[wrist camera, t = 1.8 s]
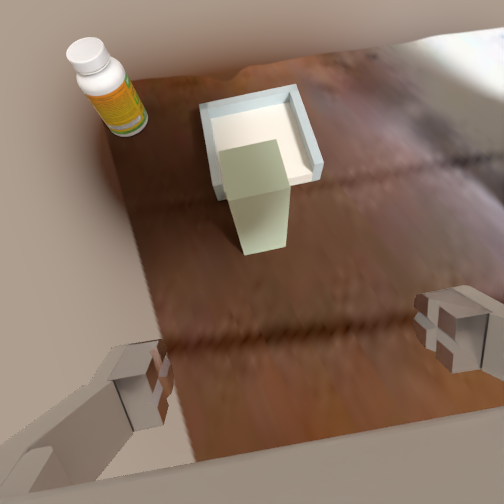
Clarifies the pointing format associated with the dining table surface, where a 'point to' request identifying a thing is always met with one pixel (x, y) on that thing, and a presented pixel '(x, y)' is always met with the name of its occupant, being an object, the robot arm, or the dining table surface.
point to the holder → (262, 132)
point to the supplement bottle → (107, 87)
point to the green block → (257, 195)
